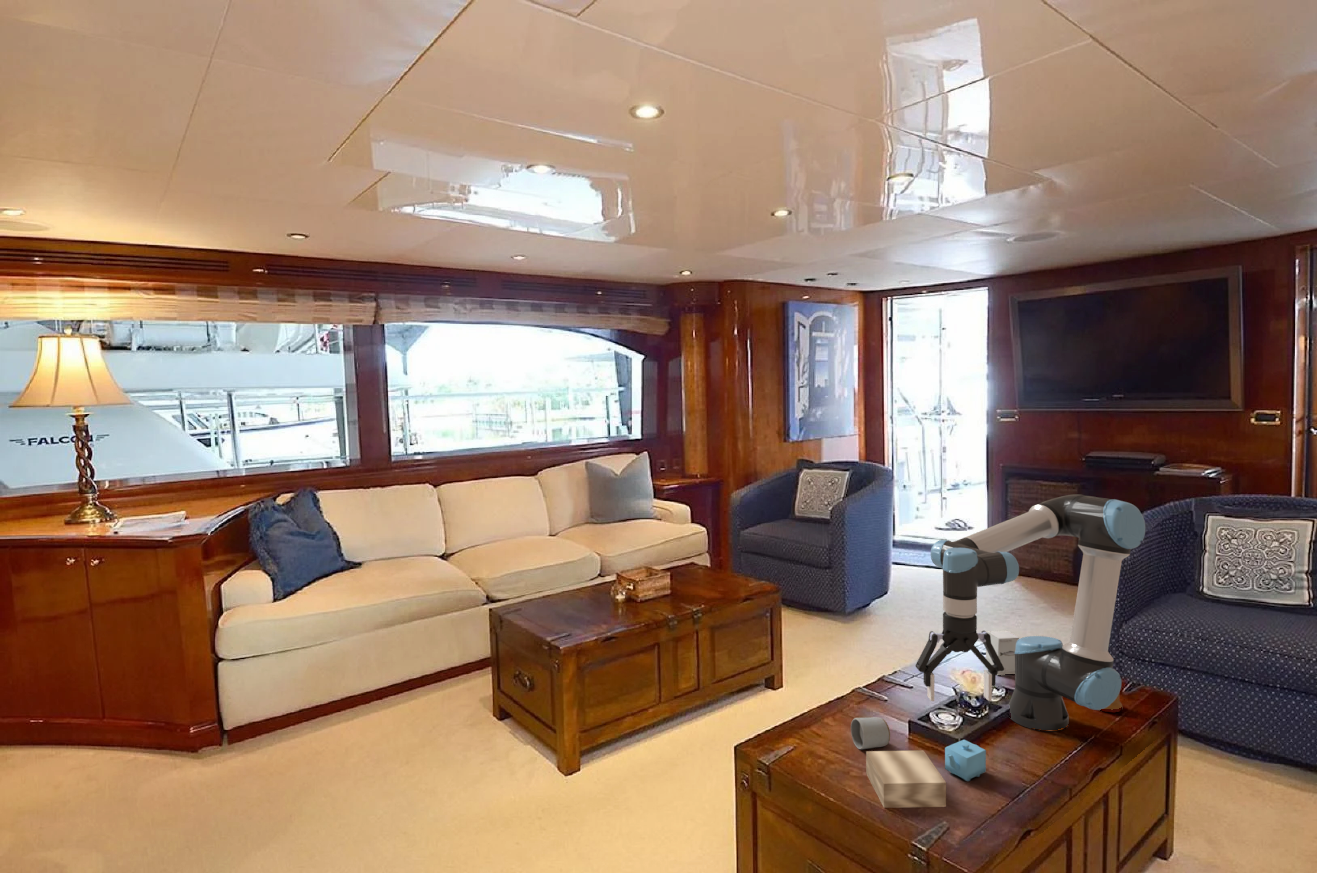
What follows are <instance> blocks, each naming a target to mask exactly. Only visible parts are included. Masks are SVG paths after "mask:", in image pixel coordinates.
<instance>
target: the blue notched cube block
mask: <svg viewBox="0 0 1317 873" xmlns="http://www.w3.org/2000/svg"><path fill="white" fill-rule="evenodd" d="M986 763H987V750H986V749H984V748H983V747H980V746H979V745H977V744H974V743H972V742H970V741H968V740H966V739H962V740H960V741H957V742H955V743H951V744H950V745H948V746H946V747H944V769H945V770H946V771H948V772H950V773H951V774H952V775H955V776H957V777H959V778H961V779H962V780H964V781H966V782H970V781H971V780H972V779H974V778H975V777H976V778H980V776H981V775H982V774H984V773H986V772H987V770H986V769H987V764H986Z"/></svg>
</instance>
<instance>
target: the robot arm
mask: <svg viewBox="0 0 1317 873" xmlns="http://www.w3.org/2000/svg"><path fill="white" fill-rule="evenodd" d="M1145 535H1146V521H1145V518H1144V516H1143V514H1142V513H1141V511H1140V509H1139V508H1138V507H1137V506H1136V505H1134V504H1132V503H1130V502H1127V501H1123V500H1119V499H1115V498H1114V499H1110V498H1104V497H1096V496H1093V495H1092V496H1091V495H1084V494H1068V495H1067V494H1066V495H1063V496H1059V497H1054V498H1051V499H1047V500H1045V501H1042V502H1040V503H1038V504H1035V505H1032V506H1031V507H1030V508H1029V509H1028V511H1027V512H1025V513H1022V514H1020V515H1018V516H1015V517H1013V518H1012V517H1011V518H1010V519H1007V520H1004V521H1002V522H1000V523H997V524H995V525H992V526H990V527H987V528H984V529H982V530H979V531H977V532H974V533H973V534H970V535H968V536H965V537H962V538H960V539H957V540H953V541H951V540H947V539H946V540H945V539H939V540H938V541H936V542H935V543H933V545H932V546H931V549H930V559H931V562H932V564H934V565H935V566H936V567H938V568H940V569H942V610H943V613H942V632H941V633H938V632H934V631H933V630H930V631H929V634H928V640H927V641H926V643H925V644H926V645H925V646H924V648H923V650H922V652H921V654H920V655H919V657H918V658H917V661H916V663H915V668H916V669H917V670H918V671H919V672H920V673H923V685H924V686H925V687H927V688H926V689H927V692H926V695H927V697H928V698H927V699H929V701H930V702H935V674H934V673H933V672H934V671H935V670H936V668H937V667H938V666H939V665H940V663H942V661H943V660H945V658H946V657H947V656H948V655H950V654H951V653H952V652H953V653H959V652H963V653H968V652H969V651H971V652H972V653H973V654H974V655H975V656H976V658H977V659H978V661H980V662H981V663H982V665H983V666H984V667H985V668H986V669H983V697H984V698H985V699H986V700H987V701H988V702H992V699H993V696H992V693H993V687H995V686H996V681H997V680H996V679H997V677H996V676H997V674H998V671H1003V670H1004V667H1003V665H1002V663H1001V661H1000V659H999V657H998V655H997V653H996V651H995V649H994V647H993V646H992V644H991V637H990V635H989V634H988V633H987V631H986V630H982V631H981V632H977V629H978V628H977V626H978V617H977V615H976V614H977V613H978V588H980V587H985V586H986V587H988V586H995V585H1004V584H1006V583H1010V582H1011V583H1012V582H1014V581H1016V579H1017V578H1018V576H1019V575H1020V574H1019V572H1020V567H1019V566H1020V564H1019V563H1018V560H1017V558H1016V556H1014V555H1013V554H1012V553H1010V551H1013V550H1015V549H1018V548H1020V547H1022V546H1025V545H1027V544H1029V543H1032V542H1034V541H1037V540H1039V539H1041V538H1044V539H1052V538H1054V537H1056V536H1067V537H1068V536H1069V537H1075V538H1078V542H1077V547H1078V548H1079V549H1080V550H1081V552H1082V554H1083V555H1082V559H1081V560H1082V561H1081V567H1080V574H1079V581H1078V587H1077V592H1076V593H1077V594H1076V601H1075V604H1074V605H1075V606H1074V612H1073V619H1072V625H1071V630H1070V631H1071V632H1070V640H1069V641H1068V642H1067V643H1065V644H1063V642H1062V640H1061V639H1059V638H1056V637H1051V636H1044V635H1040V636H1039V635H1030V636H1024V637H1019V640H1018V641H1017V642H1016V650H1015V675H1014V690H1013V692H1012V695H1011V697H1010V700H1009V702H1008V705H1010V713H1011V718H1010V720H1012V721H1013V722H1015V723H1016V724H1017V725H1020V726H1021V727H1025V728H1026V729H1027V728H1028V729H1031V728H1035V729H1041V730H1058V729H1061V728H1065V727H1066V726H1067V725H1068V724H1069V723H1070V721H1069V719H1070V718H1069V713H1068V711H1067V708H1066V704H1065V702H1064V699H1063V698H1065V699H1067V700H1069V701H1071V702H1074V703H1076V704H1077V705H1079V706H1081V707H1085V708H1088V709H1090V710H1094V711H1100V710H1101V709H1104V708H1106V707H1108V706H1109V705H1110V704H1111V703H1113V702H1114V701H1115V699H1116V698H1117V696H1118V694H1119V695H1120V691H1121V688H1122V677H1121V675H1120V673H1119V672H1118V671H1117V670H1116V669H1115V668H1113V666H1114V658H1113V656H1112V655H1111V654H1110V652H1109V645H1110V639H1111V632H1112V627H1113V626H1112V625H1113V618H1114V614H1115V613H1114V612H1115V607H1116V606H1115V605H1116V600H1117V593H1118V587H1119V581H1120V574H1121V568H1122V562H1123V560H1124V559H1125V558H1127V557H1129V556H1131V550H1132V549H1136V548H1138V547H1139V546H1140V545H1141V542H1143V541H1144V539H1145ZM941 640H942V641H943V642H942V643H941V645H940V646H939V648H938V649H937V650H936V652H934V651H935V649H936V648H937V645H938V643H940V641H941ZM978 640H980V642H982V644H983V645H984V648H985V651H986V650H987V651H988V653H989V655H990V657H991V659H992V661H993V663H994V665H991V664H990V663H989V662H988V660H987V659H986V656H984V654H982V652H981V651H980V650H979V649H978V647H977V646H975V644H976V643H977V642H978ZM933 653H934V654H933ZM1069 725H1070V724H1069ZM1069 725H1068V726H1069ZM1035 729H1034V730H1035Z"/></svg>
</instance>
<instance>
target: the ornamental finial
mask: <svg viewBox="0 0 1317 873" xmlns="http://www.w3.org/2000/svg"><path fill="white" fill-rule="evenodd" d="M1121 707H1122V708H1123V704H1122V702H1121V701H1120V693H1119V694H1118V696H1117V698H1116V699H1115V701H1114V702H1113V703H1111V704H1110V705H1109V706H1108V707H1106V708H1104V709H1111V710H1113V709H1119V708H1121Z"/></svg>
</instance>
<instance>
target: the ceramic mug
mask: <svg viewBox="0 0 1317 873" xmlns="http://www.w3.org/2000/svg"><path fill="white" fill-rule="evenodd" d="M890 730H891V729H890V727H889V724H888V722H887V721H886V720H885V719H884V718H882V717H877V716H875V717H874V716H872V717H871V716H870V717H853V719H852V721H851V723H850V736H851V739H852V742H853V744H854V746H855V747H856V748H857V749H858V750H866V749H867V750H868V749H874V748H875V749H876V748H882V747H886V746H887V745H888V744H889V743H890V741H891V731H890Z"/></svg>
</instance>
